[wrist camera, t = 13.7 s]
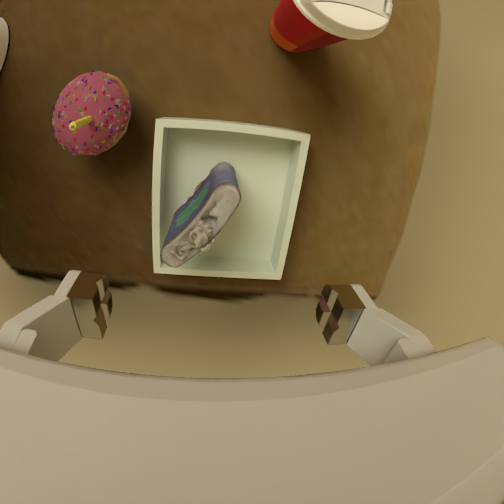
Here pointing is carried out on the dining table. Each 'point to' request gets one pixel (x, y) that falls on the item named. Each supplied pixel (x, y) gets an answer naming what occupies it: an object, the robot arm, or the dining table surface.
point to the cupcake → (91, 113)
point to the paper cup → (327, 22)
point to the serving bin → (249, 182)
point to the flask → (201, 216)
